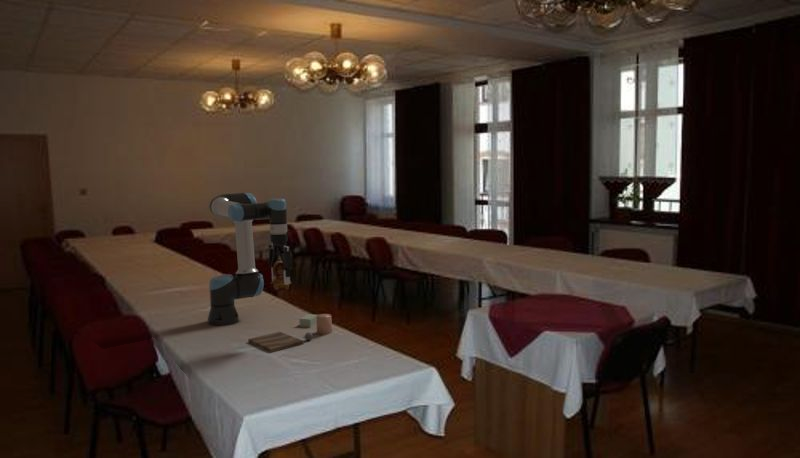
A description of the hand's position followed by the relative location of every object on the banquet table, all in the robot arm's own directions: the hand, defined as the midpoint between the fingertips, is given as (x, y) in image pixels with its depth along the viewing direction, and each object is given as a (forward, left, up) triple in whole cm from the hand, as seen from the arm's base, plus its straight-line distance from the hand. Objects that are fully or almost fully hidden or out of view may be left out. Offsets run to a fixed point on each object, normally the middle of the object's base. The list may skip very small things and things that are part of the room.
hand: (281, 282), depth 265 cm
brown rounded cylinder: (+6, +19, -26) cm, 33 cm away
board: (+4, -6, -26) cm, 27 cm away
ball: (+11, +7, -26) cm, 29 cm away
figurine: (0, 0, -3) cm, 3 cm away
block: (-11, +22, -26) cm, 36 cm away
